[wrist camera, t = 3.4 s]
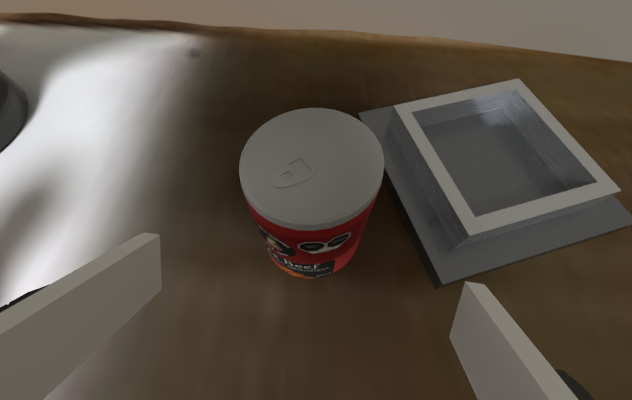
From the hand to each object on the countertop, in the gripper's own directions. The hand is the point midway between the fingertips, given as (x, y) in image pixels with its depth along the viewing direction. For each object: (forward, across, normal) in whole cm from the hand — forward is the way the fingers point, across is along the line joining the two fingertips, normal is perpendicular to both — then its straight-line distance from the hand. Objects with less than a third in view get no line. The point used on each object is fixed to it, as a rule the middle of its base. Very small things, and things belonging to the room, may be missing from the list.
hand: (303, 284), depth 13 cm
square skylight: (+19, +14, +4) cm, 24 cm away
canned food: (+12, -1, -3) cm, 13 cm away
